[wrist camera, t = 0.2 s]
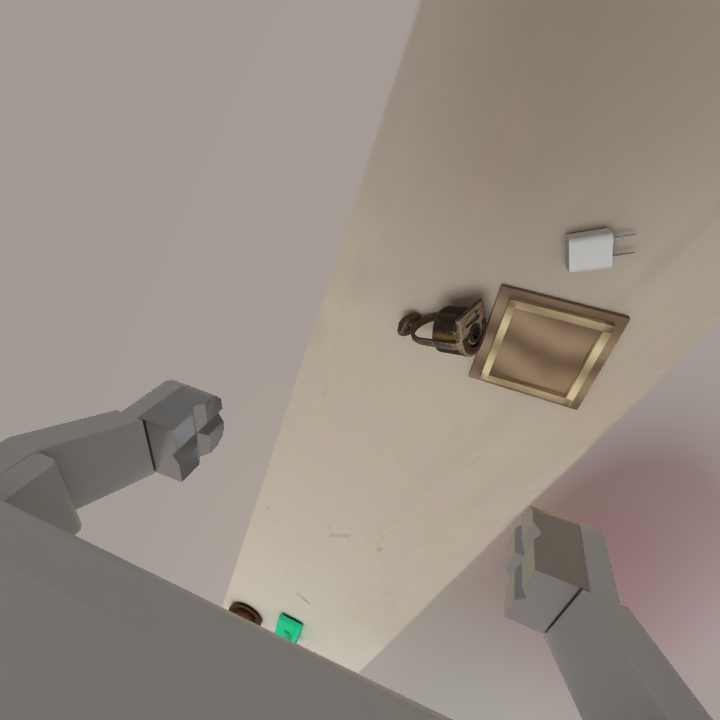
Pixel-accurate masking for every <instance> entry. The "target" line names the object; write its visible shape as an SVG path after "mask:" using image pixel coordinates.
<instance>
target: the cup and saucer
mask: <svg viewBox="0 0 720 720" xmlns="http://www.w3.org/2000/svg"><path fill="white" fill-rule="evenodd" d="M229 611H231V612H233V613H235V614H237V615H239V616H241V617H243V618H245V619H247V620H249V621H251V622H253V623H255V624H257V625H259V626H260V625H261V621H260V618H259V616H258V615H257V614H256V613H255V612H254V611H253V610H252V609H250V608H248V607H247V606H244V605H241V604H234V605H231V606H230V608H229Z"/></svg>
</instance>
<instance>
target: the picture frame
mask: <svg viewBox="0 0 720 720" xmlns="http://www.w3.org/2000/svg"><path fill="white" fill-rule="evenodd" d="M629 320H630V318H629V316H626V315H622V314H618V313H614V312H610V311H606V310H602V309H598V308H594V307H590V306H586V305H583V304H579V303H575V302H571V301H567V300H563V299H559V298H555V297H551V296H547V295H543V294H539V293H536V292H532V291H528V290H524V289H520V288H516V287H512V286H508V285H504V284H502V286H501V288H500V291H499V294H498V297H497V299H496V302H495V305H494V307H493V310H492V313H491V316H490V318H489V321H488V324H487V327H486V333H485V337H484V340H483V343H482V346H481V348H480V349H479V351H478V352H477V354H476V357H475V359H474V362H473V365H472V368H471V370H470V373H469V377H472V378H475V379H478V380H482V381H485V382H488V383H491V384H495V385H498V386H501V387H504V388H507V389H511V390H514V391H517V392H520V393H524V394H527V395H530V396H533V397H537V398H540V399H543V400H546V401H549V402H553V403H556V404H559V405H562V406H566V407H569V408H572V409H575V410H577V409H578V407H579V406H580V404H581V402H582V401H583V399H584V397H585V396H586V394H587V392H588V390H589V389H590V387H591V385H592V384H593V382H594V380H595V378H596V377H597V375H598V373H599V372H600V370H601V368H602V367H603V365H604V363H605V361H606V360H607V358H608V356H609V355H610V353H611V351H612V349H613V348H614V346H615V344H616V343H617V341H618V339H619V338H620V336H621V334H622V332H623V331H624V329H625V327H626V326H627V324H628V322H629Z"/></svg>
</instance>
